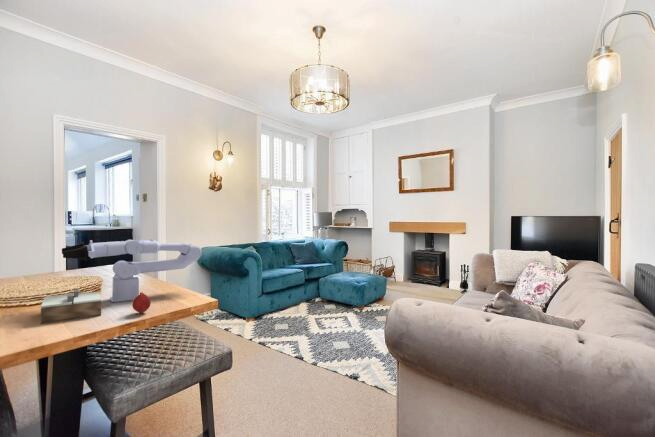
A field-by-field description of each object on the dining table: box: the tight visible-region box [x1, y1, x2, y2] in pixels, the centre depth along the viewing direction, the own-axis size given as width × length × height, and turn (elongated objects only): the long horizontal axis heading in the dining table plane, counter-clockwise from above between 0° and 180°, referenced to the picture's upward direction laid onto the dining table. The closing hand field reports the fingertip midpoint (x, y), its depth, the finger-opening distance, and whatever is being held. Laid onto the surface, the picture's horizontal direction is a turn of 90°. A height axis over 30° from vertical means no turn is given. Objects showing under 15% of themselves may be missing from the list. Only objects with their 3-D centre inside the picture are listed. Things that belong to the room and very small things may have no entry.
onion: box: [131, 291, 152, 315], centre depth 117 cm, size 6×6×8 cm
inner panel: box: [73, 288, 102, 304], centre depth 116 cm, size 8×13×3 cm, turn 37°
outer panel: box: [40, 292, 74, 309], centre depth 111 cm, size 8×13×3 cm, turn 37°
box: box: [40, 295, 102, 324], centre depth 113 cm, size 16×13×5 cm
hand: (62, 253), depth 120 cm, fingers open, 7 cm apart
